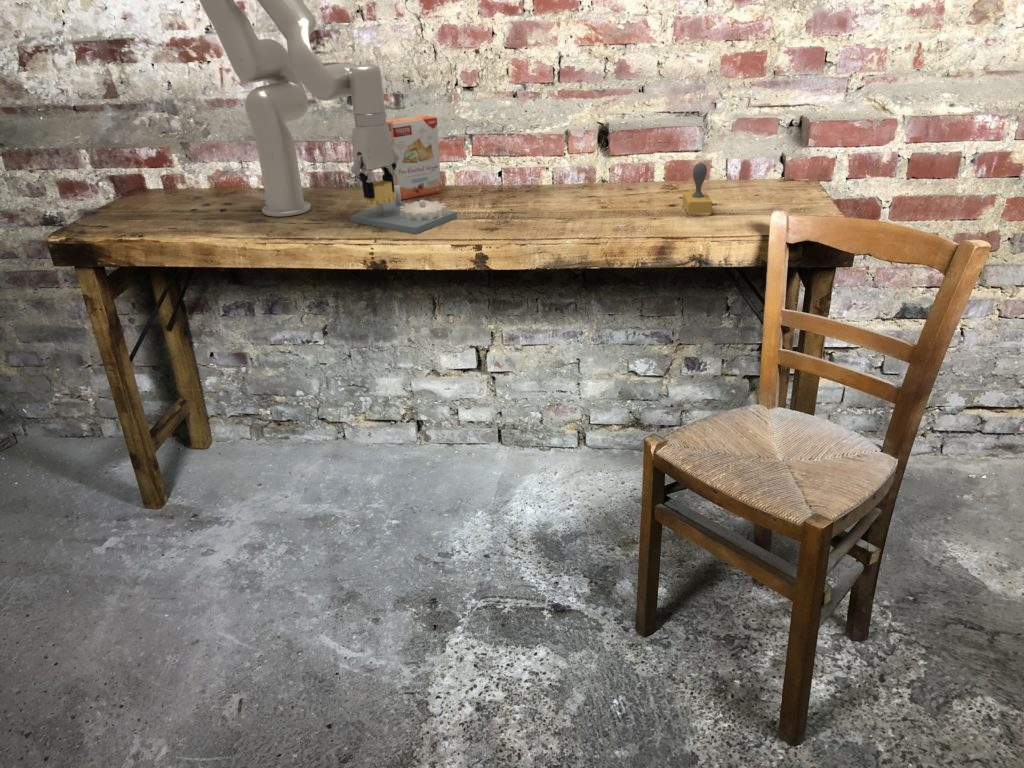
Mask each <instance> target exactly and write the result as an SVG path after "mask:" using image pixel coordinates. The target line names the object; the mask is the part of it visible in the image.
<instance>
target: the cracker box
mask: <svg viewBox="0 0 1024 768" xmlns="http://www.w3.org/2000/svg"><path fill="white" fill-rule="evenodd" d="M386 123H387V124H388V127H389V131H390V135H391V139H392V145H393V151H394V153H395V154H396V155H397V156H398V157H399V160H398V162H397V164H396V168H395V170H394V173H395V174H394V175H393V182H394V186H395V185H399V186H400V194H401V201H402V200H407V199H413V198H417V197H418V196H419V197H424V196H429V195H434V194H440V193H442V183H441V182H442V181H441V180H442V179H441V167H440V166H441V164H440V150H439V147H440V146H439V133H438V132H439V131H438V130H439V129H438V118H437V117H436V116H433V115H428V114H425V115H418V116H417V115H416V116H409V117H400V118H391V119H386ZM393 194H395V192H393Z"/></svg>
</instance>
